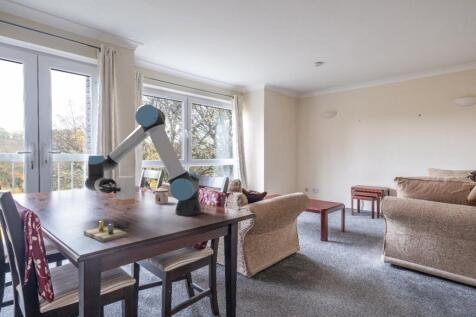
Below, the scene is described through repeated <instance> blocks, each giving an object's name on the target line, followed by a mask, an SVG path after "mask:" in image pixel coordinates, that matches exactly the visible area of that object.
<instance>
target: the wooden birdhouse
mask: <svg viewBox="0 0 476 317" xmlns="http://www.w3.org/2000/svg"><path fill="white" fill-rule="evenodd" d="M154 202H155V204H157V205H165V203H166V204H168V203H169V189H168V188H165V187H164V186H162V185H161V186H160V187H157V188H156V189H155V190H154Z"/></svg>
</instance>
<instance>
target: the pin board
mask: <svg viewBox="0 0 476 317" xmlns="http://www.w3.org/2000/svg"><path fill="white" fill-rule="evenodd" d="M83 235H85V236H88V237H90V238H93V239H95V240H97V241H99V242H102V243H105V242H109V241H112V240H116V239H119V238H124V237H127V231H125V230H124V231H123V230H121V229H117V228H114V227H113V234H108V225H104V230H103V231H99V227H94V228H90V229H85V230H84V231H83Z"/></svg>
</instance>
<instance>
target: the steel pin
mask: <svg viewBox="0 0 476 317" xmlns="http://www.w3.org/2000/svg"><path fill="white" fill-rule="evenodd" d="M107 226H108V234H113V228H114V223H113V222H112V223H108V224H107Z"/></svg>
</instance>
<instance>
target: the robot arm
mask: <svg viewBox="0 0 476 317" xmlns="http://www.w3.org/2000/svg"><path fill="white" fill-rule="evenodd" d="M134 116H135V121H136V123H137V124H138V125H139V126H138V127H136V129H135V130H134V131H133V132H131V133H130V134H129V135H128V136H127V137H126V138H125V139H124V140H122V142H120V143H119V144H118V145H117V146H116V147H115V148H114V149H113V150H112V151H111V152H110V153H108V154H107V155H106V156H104V155H103V154H89V155H88V160H87V165H88V168H87V172H88V173H87V174H88V175H87V178H86V179H85V181H84V187H85V188H86V189H87V190H90V191H92V192H99V193H101V194H112V193H113V194H116V191H117V192H119V193H126V187H120V186H117V188H116V180H114V179H112V178H108V177H105V172H109V171H113V170H115V169H116V168H118V165H119V163H121V162H122V161H123V160H124V159H125V158H126V157H128V155H130V153H132V152H133V151H134V150H135V149H136V148H137V147H138V146H139V145H141V144H142V143H143V142H144V141H145V140H146V139H147V138H150V140H151V142H152V144H153V146H154V148H155V150H156V152H157V154H158V156H159V159H160V161H161V162H162V165H163V166H164V169H165V171H166V173H167V174H168V175H167V176H168V179H167V182H168V184H169V186H170V187H169V188H170V190H169V191H170V194H171V195H172V197H173V198H174V199H175V200H178V201H177V204H176V207H175V211H174V212H175V213H174V214H175V215H177V216H184V217H186V216H199V215H200V214H202V206H201V203H200V200H199V198H200V197H199V196H200V190H199V189H200V176H199V174H197V173H190V172H189V171H188V170H186V169H184V167H183V164H182V163H181V160H180V159H179V157H178V154H177V152H176V151H175V148H174V146H173V144H172V142H171V139H170V137H169V136H168V134H167V131H166V126H167V125H166V123H165V122H166V116H165V113H164V111H162V110H161V109H160V108H158V107H155V106H154V105H152V104H142V105H140V106H139V107H138V108H137V109H136V111H135V114H134ZM136 192H138V193H139V192H140V186H139V185H135V193H136Z"/></svg>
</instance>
